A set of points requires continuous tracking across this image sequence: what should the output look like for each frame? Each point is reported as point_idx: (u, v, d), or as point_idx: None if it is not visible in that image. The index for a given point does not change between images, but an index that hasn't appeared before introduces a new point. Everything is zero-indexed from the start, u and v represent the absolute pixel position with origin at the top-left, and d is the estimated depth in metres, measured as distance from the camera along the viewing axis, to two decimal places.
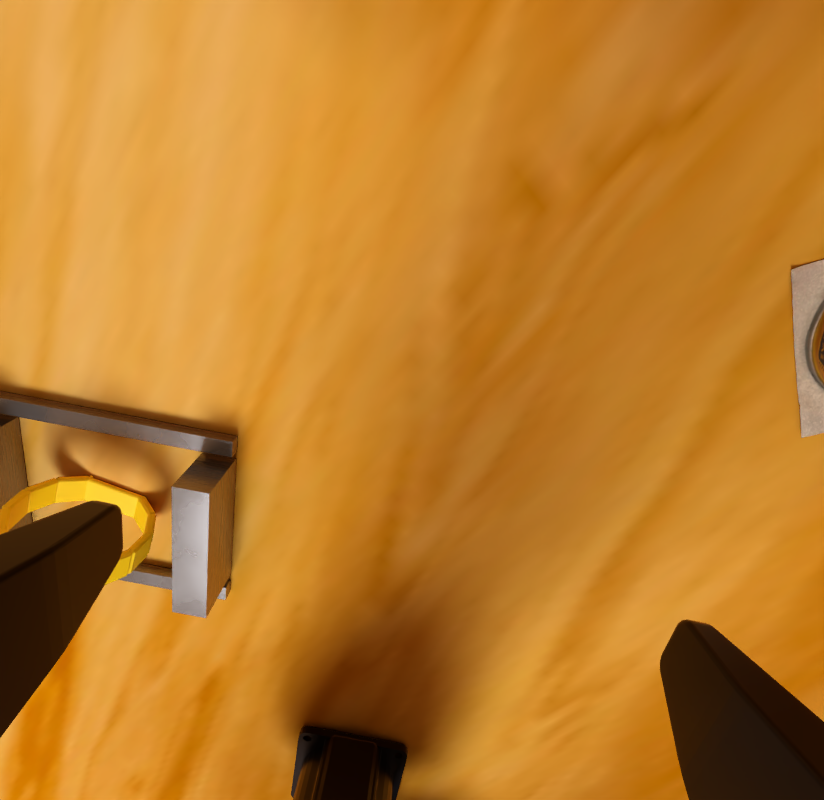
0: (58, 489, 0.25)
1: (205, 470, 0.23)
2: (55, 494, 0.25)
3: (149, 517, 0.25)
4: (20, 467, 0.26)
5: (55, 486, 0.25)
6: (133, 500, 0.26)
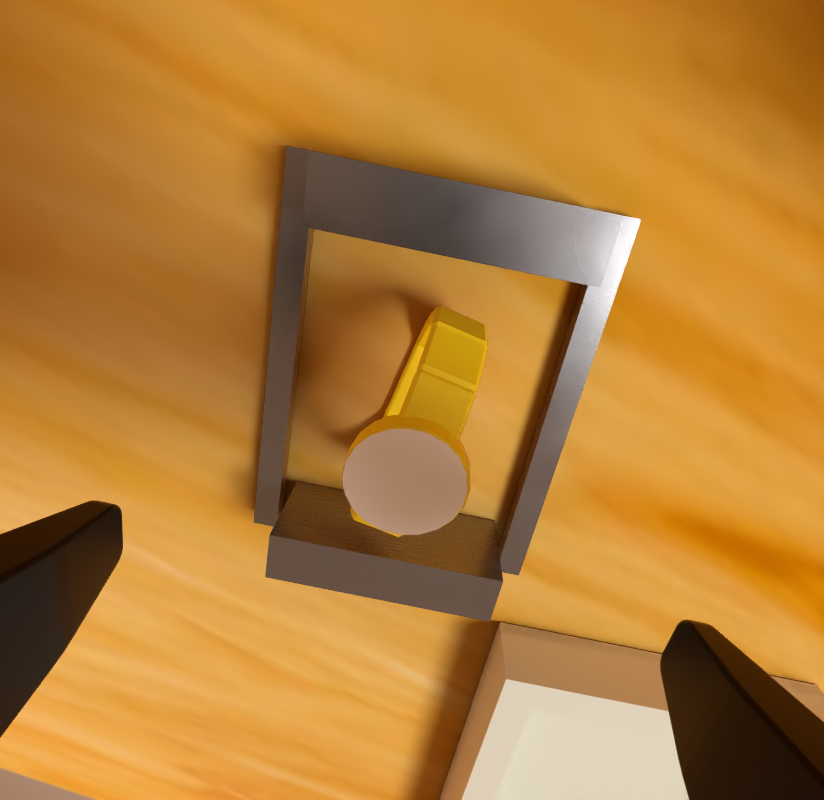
0: None
1: None
2: None
3: (429, 320, 0.15)
4: None
5: None
6: (421, 353, 0.16)
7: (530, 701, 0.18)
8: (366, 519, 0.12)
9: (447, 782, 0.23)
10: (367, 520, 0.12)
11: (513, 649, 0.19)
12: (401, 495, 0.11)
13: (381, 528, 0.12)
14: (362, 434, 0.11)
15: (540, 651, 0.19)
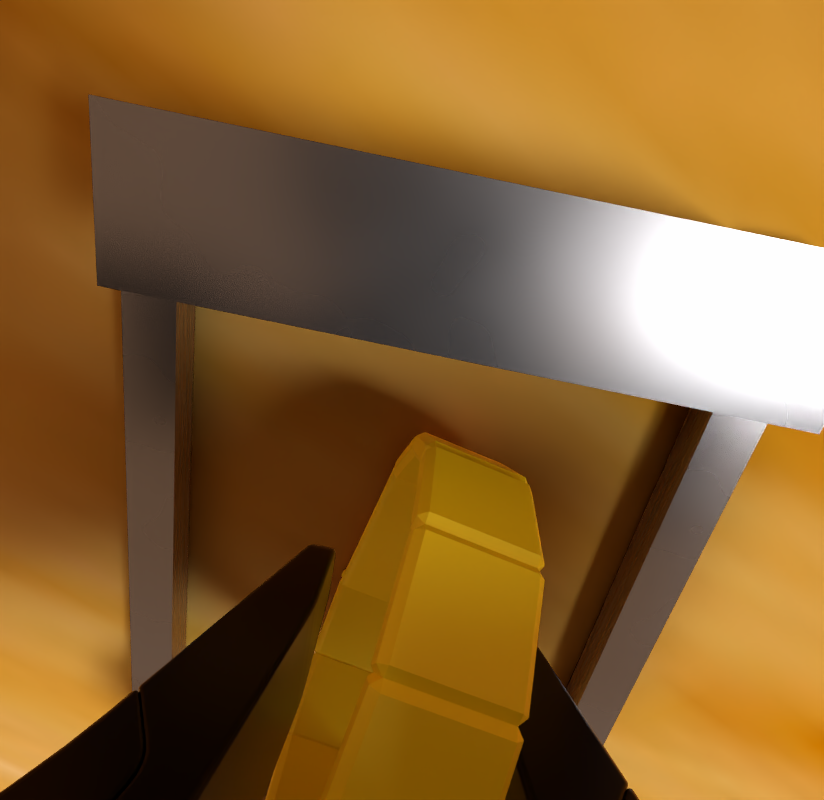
0: (341, 658, 0.09)
1: None
2: (354, 667, 0.09)
3: (413, 450, 0.07)
4: None
5: (326, 662, 0.09)
6: (403, 490, 0.09)
7: None
8: None
9: None
10: None
11: None
12: None
13: None
14: None
15: None
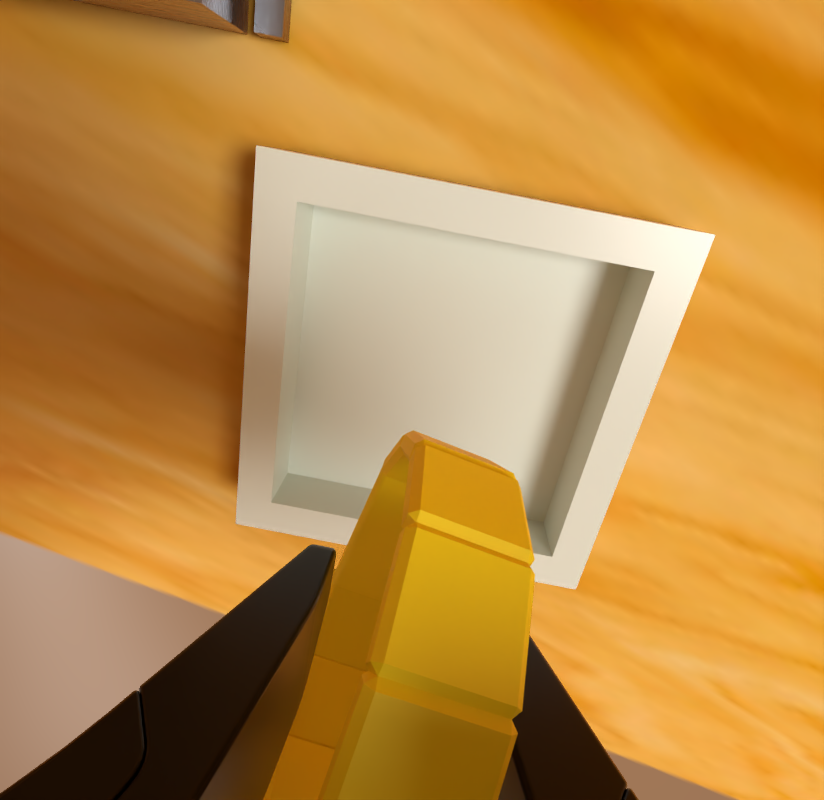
0: (332, 657, 0.09)
1: None
2: (347, 666, 0.09)
3: (402, 449, 0.07)
4: None
5: (319, 662, 0.09)
6: (392, 488, 0.09)
7: (292, 184, 0.14)
8: None
9: None
10: None
11: (285, 150, 0.15)
12: None
13: None
14: None
15: (321, 157, 0.15)
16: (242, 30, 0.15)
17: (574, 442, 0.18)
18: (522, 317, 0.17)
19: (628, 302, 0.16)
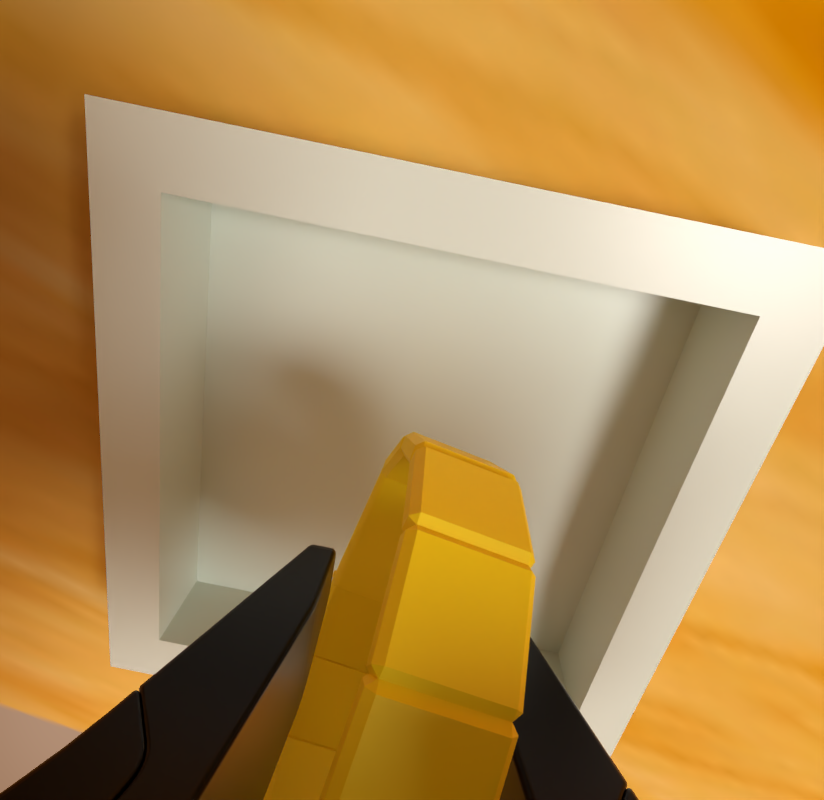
0: (333, 659, 0.09)
1: None
2: (346, 667, 0.09)
3: (403, 451, 0.07)
4: None
5: (319, 664, 0.09)
6: (392, 490, 0.09)
7: (152, 163, 0.08)
8: None
9: None
10: None
11: None
12: None
13: None
14: None
15: None
16: None
17: (606, 553, 0.13)
18: (534, 375, 0.11)
19: (703, 358, 0.10)
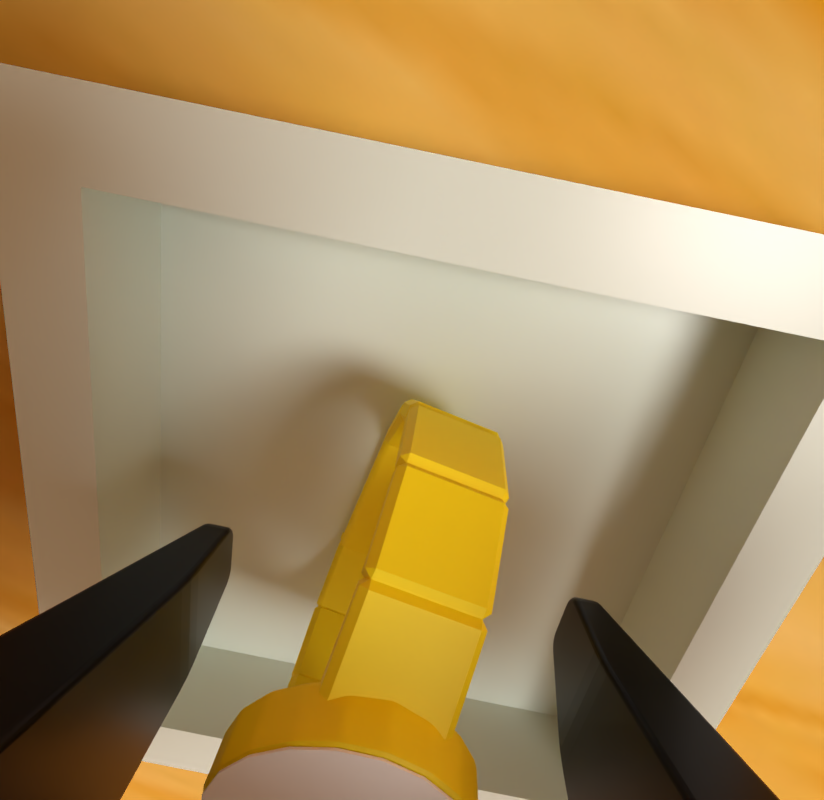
0: (341, 610, 0.10)
1: None
2: None
3: (401, 415, 0.08)
4: None
5: (328, 614, 0.10)
6: (394, 456, 0.10)
7: (67, 149, 0.07)
8: None
9: None
10: None
11: None
12: None
13: None
14: (239, 731, 0.05)
15: None
16: None
17: (636, 614, 0.11)
18: (554, 407, 0.10)
19: (765, 393, 0.08)
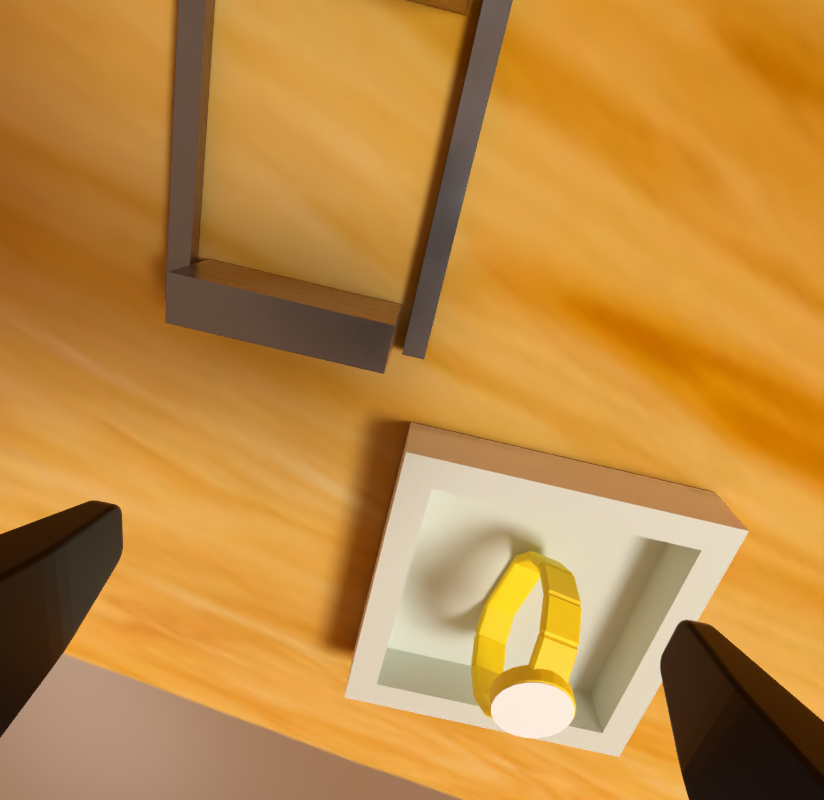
0: (488, 636, 0.22)
1: None
2: (493, 640, 0.22)
3: (530, 559, 0.21)
4: (278, 277, 0.18)
5: (482, 638, 0.22)
6: (517, 568, 0.22)
7: (430, 478, 0.19)
8: (503, 728, 0.18)
9: None
10: (503, 729, 0.18)
11: (419, 437, 0.20)
12: (529, 716, 0.17)
13: (512, 733, 0.18)
14: (505, 678, 0.17)
15: (445, 442, 0.20)
16: None
17: (622, 640, 0.23)
18: (589, 550, 0.22)
19: (676, 554, 0.20)
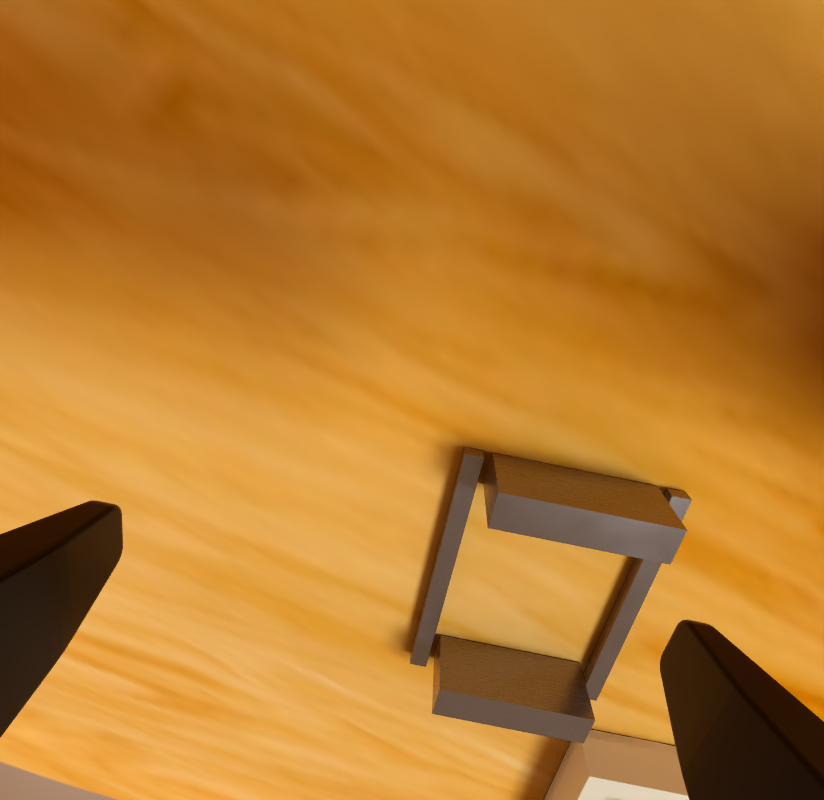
0: None
1: (490, 488, 0.21)
2: None
3: None
4: (493, 650, 0.26)
5: None
6: None
7: (605, 790, 0.26)
8: None
9: None
10: None
11: (590, 750, 0.27)
12: None
13: None
14: None
15: (609, 751, 0.27)
16: None
17: None
18: None
19: None
